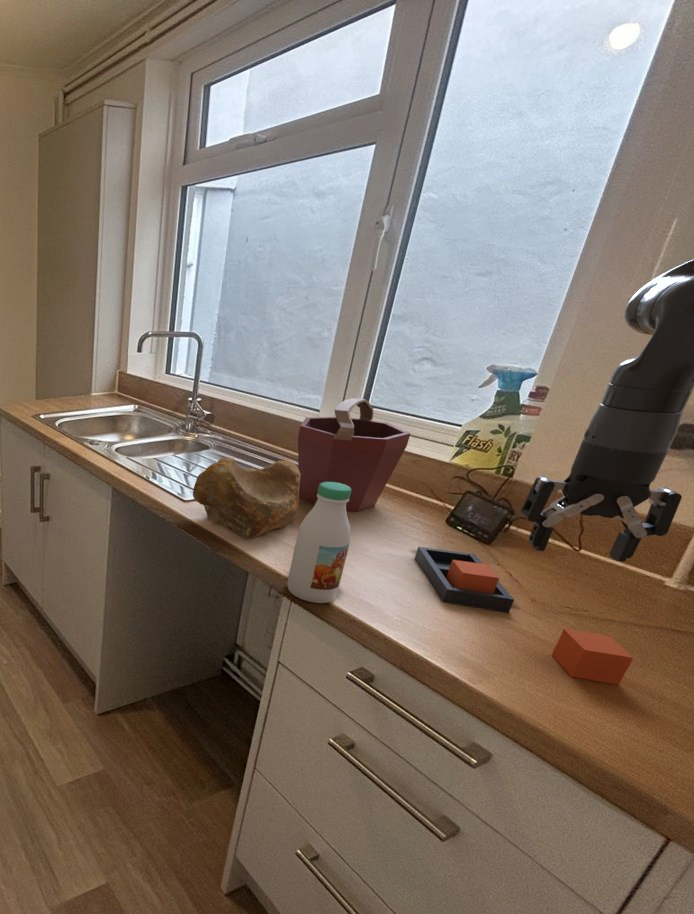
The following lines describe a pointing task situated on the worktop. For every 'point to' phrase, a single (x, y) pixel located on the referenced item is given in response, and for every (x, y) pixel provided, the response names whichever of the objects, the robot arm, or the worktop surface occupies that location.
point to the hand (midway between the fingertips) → (576, 553)
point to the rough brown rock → (249, 495)
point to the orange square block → (472, 576)
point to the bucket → (349, 453)
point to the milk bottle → (321, 546)
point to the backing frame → (436, 571)
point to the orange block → (592, 656)
